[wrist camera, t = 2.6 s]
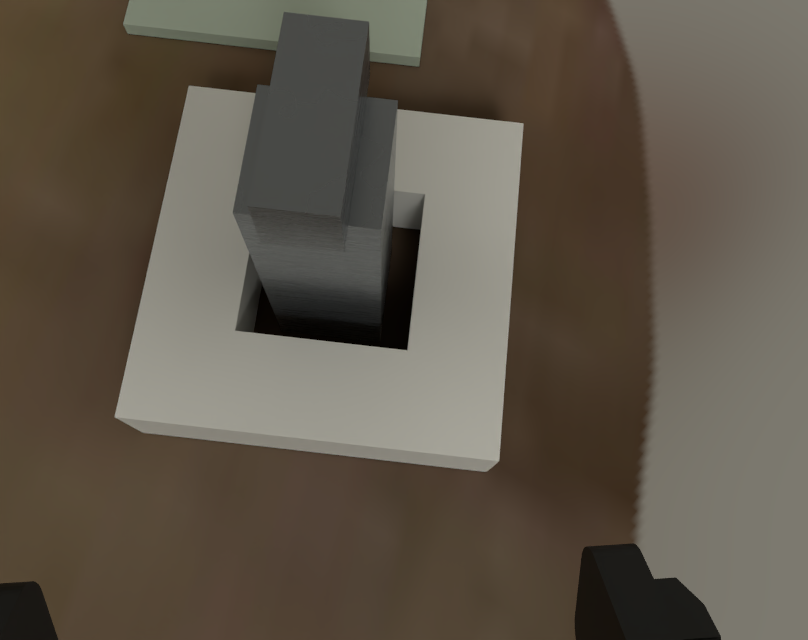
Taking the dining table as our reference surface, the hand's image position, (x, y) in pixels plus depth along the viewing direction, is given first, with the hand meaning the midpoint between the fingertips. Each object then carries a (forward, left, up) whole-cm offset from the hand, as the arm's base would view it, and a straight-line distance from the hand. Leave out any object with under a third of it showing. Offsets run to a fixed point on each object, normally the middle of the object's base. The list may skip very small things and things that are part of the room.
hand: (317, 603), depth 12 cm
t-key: (-2, +10, -15) cm, 18 cm away
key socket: (-2, +10, -15) cm, 18 cm away
